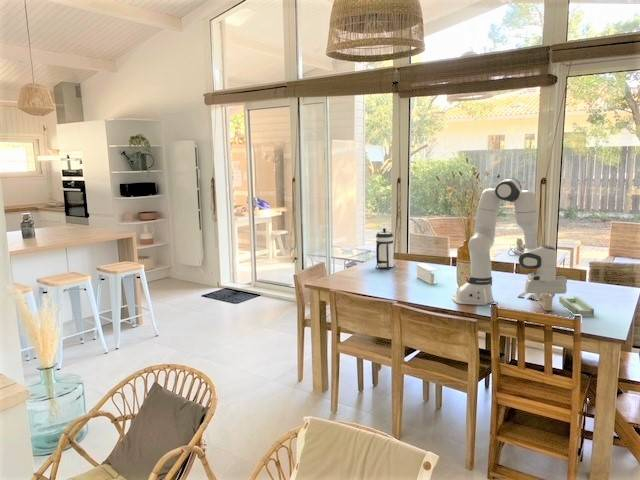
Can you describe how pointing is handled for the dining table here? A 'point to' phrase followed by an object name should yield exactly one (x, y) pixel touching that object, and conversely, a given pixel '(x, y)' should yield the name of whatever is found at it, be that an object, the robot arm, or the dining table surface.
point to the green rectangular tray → (577, 306)
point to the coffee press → (384, 249)
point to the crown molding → (529, 296)
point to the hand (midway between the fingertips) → (545, 301)
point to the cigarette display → (425, 273)
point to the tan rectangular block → (546, 301)
